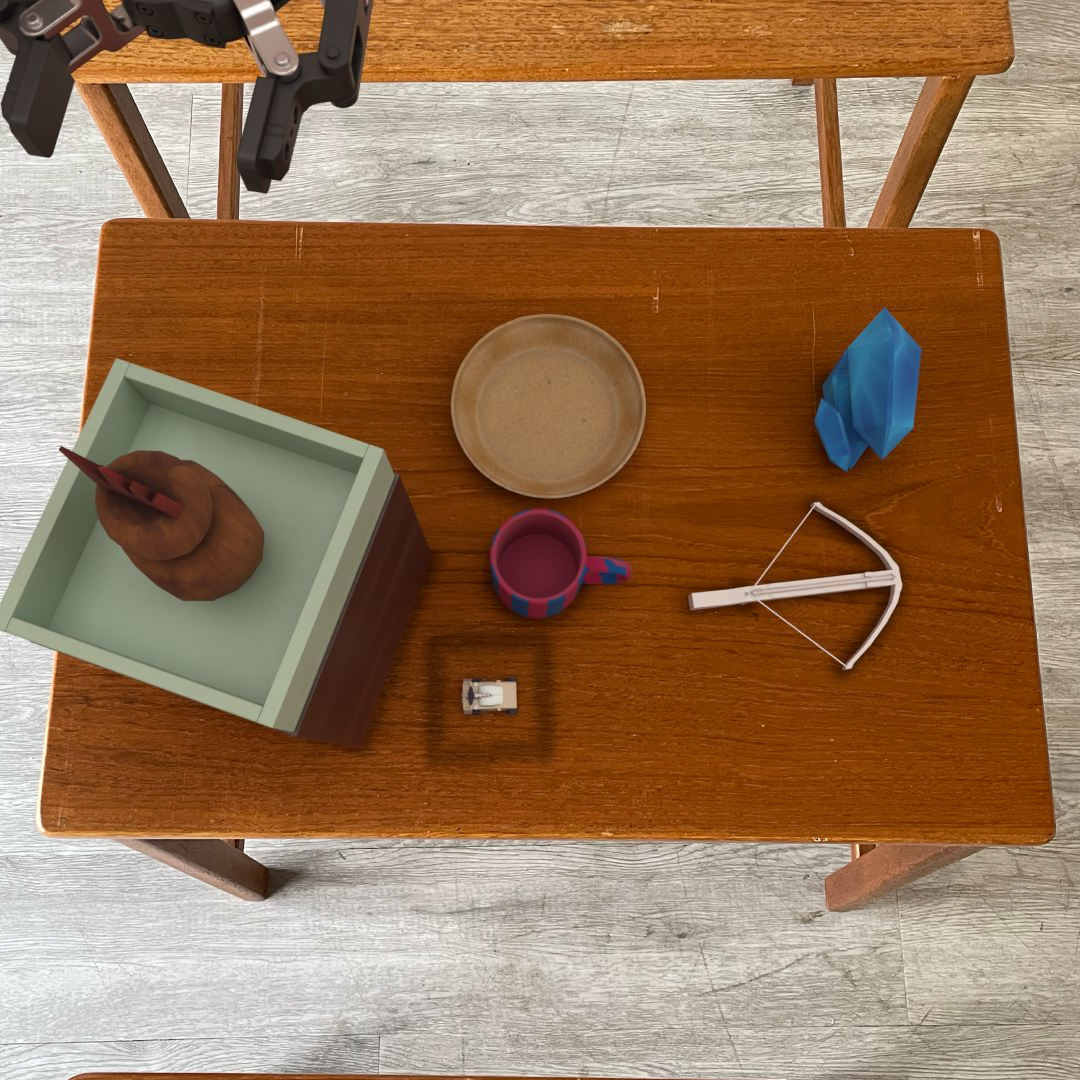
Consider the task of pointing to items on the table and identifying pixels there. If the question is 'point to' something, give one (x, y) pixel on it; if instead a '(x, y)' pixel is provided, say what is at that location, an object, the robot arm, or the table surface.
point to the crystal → (870, 393)
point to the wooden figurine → (176, 522)
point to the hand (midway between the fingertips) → (140, 163)
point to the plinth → (366, 628)
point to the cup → (546, 563)
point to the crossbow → (815, 585)
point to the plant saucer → (548, 406)
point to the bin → (237, 618)
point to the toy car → (489, 696)
